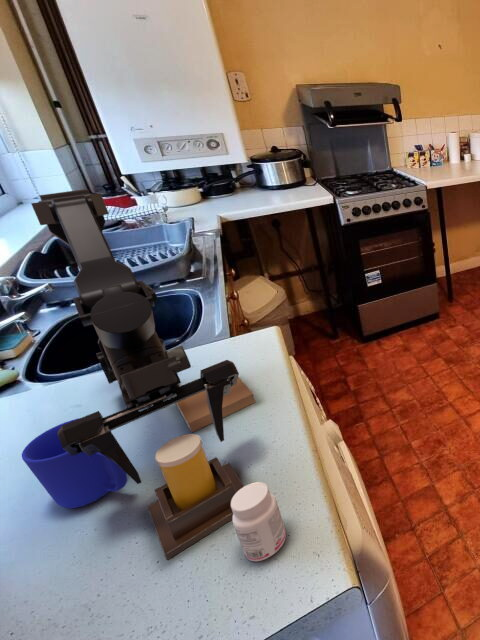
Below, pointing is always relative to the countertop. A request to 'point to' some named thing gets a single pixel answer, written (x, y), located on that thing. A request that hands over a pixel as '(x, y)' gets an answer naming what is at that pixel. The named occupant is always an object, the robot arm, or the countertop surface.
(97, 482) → the mug
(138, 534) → the countertop surface
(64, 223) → the robot arm
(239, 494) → the pill bottle
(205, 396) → the wooden pad
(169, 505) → the stand
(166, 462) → the yellow canister
